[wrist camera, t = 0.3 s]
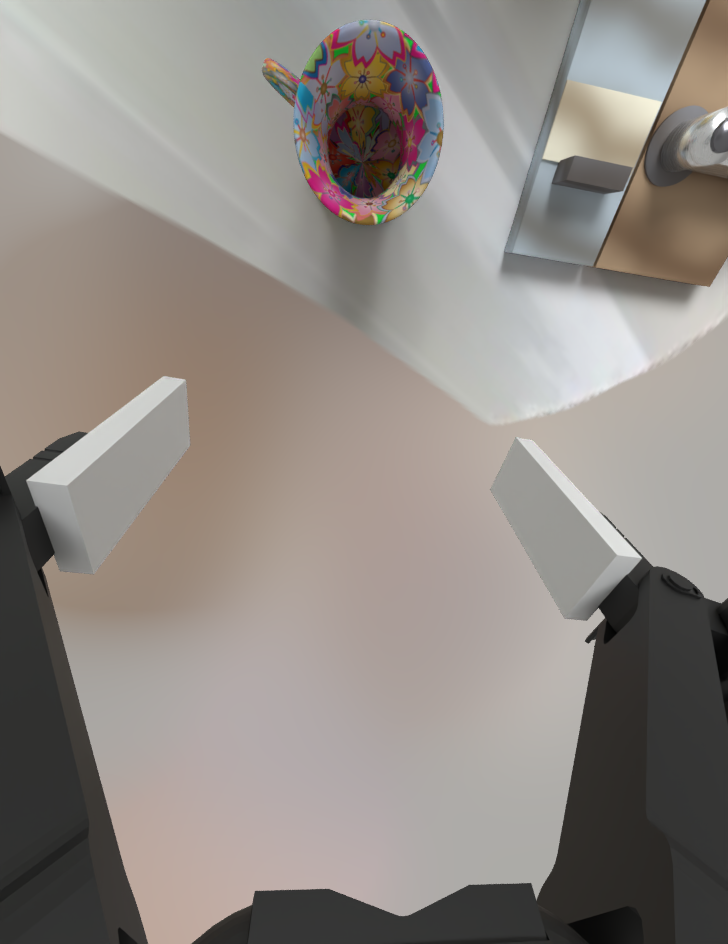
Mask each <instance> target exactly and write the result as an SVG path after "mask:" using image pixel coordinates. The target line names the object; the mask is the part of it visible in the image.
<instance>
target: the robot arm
mask: <svg viewBox="0 0 728 944" xmlns="http://www.w3.org/2000/svg"><path fill="white" fill-rule="evenodd" d="M189 446H190V432H189V417H188V402H187V387H186V380H184V379H178V378H171V377H167V376H163V377H162V378H160V379H159V380H158V381H157V382H155V383H154V384H152V385H151V386H150V387H149V388H147V389H146V390H145V391H143V392H142V393H141V394H139V395H138V396H137V397H135V398H134V399H133V400H131V401H130V402H129V403H128V404H126V405H125V406H124V407H122V408H121V409H120V410H118V411H117V412H116V413H114V414H113V415H112V416H110V417H109V418H108V419H106V420H105V421H104V422H103V423H101V424H100V425H99V426H97V427H96V428H95V429H93V430H92V431H91V432H89V433H84V432H77V433H74V434H71V435H68V436H66V437H63V438H60V439H58V440H57V441H55V442H54V443H52V444H51V445H49V446H48V447H46V448H45V451H41V452H39V453H38V454H37V455H35V456H34V457H33V459H29V460H28V461H26V462H25V463H24V464H23V465H21V466H19V467H18V468H16V469H15V470H14V471H12V472H11V473H9V474H8V475H7V476H4V474H3V472H2V469H1V467H0V944H148V942H147V939H146V935H145V931H144V928H143V924H142V921H141V917H140V914H139V911H138V907H137V904H136V901H135V898H134V896H133V893H132V890H131V887H130V884H129V882H128V879H127V876H126V873H125V870H124V866H123V862H122V859H121V855H120V851H119V848H118V844H117V840H116V836H115V833H114V829H113V825H112V822H111V818H110V814H109V810H108V807H107V803H106V799H105V796H104V792H103V788H102V784H101V781H100V777H99V773H98V770H97V766H96V762H95V759H94V755H93V751H92V747H91V744H90V740H89V736H88V732H87V729H86V725H85V721H84V718H83V714H82V711H81V707H80V703H79V699H78V696H77V692H76V688H75V684H74V681H73V677H72V673H71V670H70V666H69V662H68V658H67V655H66V651H65V647H64V644H63V640H62V636H61V632H60V629H59V625H58V621H57V618H56V614H55V610H54V606H53V603H52V599H51V596H50V592H49V588H48V584H47V580H46V577H45V574H44V572H43V569H42V567H43V566H44V564H45V563H46V562H47V561H48V560H49V559H50V558H51V557H52V556H53V555H54V556H55V559H56V562H57V565H58V567H59V570H60V571H64V572H74V573H84V574H94V573H95V572H96V571H97V569H98V568H99V567H100V565H101V564H102V563H103V561H104V560H105V558H106V557H107V556H108V555H109V553H110V552H111V551H112V549H113V548H114V547H115V545H116V544H117V543H118V541H119V540H120V539H121V537H122V536H123V535H124V533H125V532H126V531H127V529H128V528H129V527H130V525H131V524H132V523H133V521H134V520H135V518H136V517H137V516H138V515H139V513H140V512H141V511H142V509H143V508H144V507H145V505H146V504H147V503H148V501H149V500H150V499H151V497H152V496H153V495H154V493H155V492H156V490H157V489H158V488H159V486H160V485H161V484H162V482H163V481H164V480H165V478H166V477H167V475H168V474H169V473H170V472H171V470H172V469H173V468H174V466H175V465H176V464H177V462H178V461H179V460H180V458H181V457H182V456H183V454H184V453H185V452H186V450H187V449H188V448H189ZM490 490H491V492H492V494H493V495H494V497H495V499H496V501H497V502H498V504H499V506H500V508H501V509H502V511H503V513H504V515H505V516H506V518H507V520H508V521H509V523H510V525H511V527H512V528H513V530H514V531H515V534H516V535H517V537H518V539H519V540H520V542H521V544H522V546H523V547H524V549H525V551H526V553H527V554H528V556H529V558H530V559H531V561H532V563H533V565H534V566H535V568H536V570H537V571H538V573H539V575H540V577H541V579H542V580H543V582H544V584H545V585H546V587H547V589H548V590H549V592H550V594H551V596H552V598H553V599H554V601H555V603H556V604H557V606H558V608H559V610H560V611H561V613H562V615H563V617H564V618H565V619H575V620H588V619H589V618H590V617H591V615H592V614H593V613H594V612H595V611H596V610H597V609H598V608H599V609H600V610H601V612H602V613H603V614H604V616H605V619H604V620H603V621H602V622H601V623H600V624H599V625H598V626H597V627H596V628H595V629H594V630H593V632H592V633H591V634H590V635H589V636H588V637H587V638H586V640H585V642H587V643H590V641H591V640H595V639H596V642H595V646H594V647H595V648H594V653H593V660H592V665H591V670H590V676H589V681H588V687H587V693H586V698H585V704H584V709H583V715H582V720H581V726H580V731H579V737H578V743H577V748H576V754H575V759H574V765H573V771H572V776H571V782H570V787H569V793H568V798H567V804H566V809H565V815H564V821H563V826H562V832H561V837H560V843H559V849H558V854H557V858H556V862H555V865H554V867H553V869H552V872H551V873H550V875H549V876H548V878H547V880H546V881H545V883H544V884H543V886H542V888H541V891H540V893H539V895H538V898H537V901H536V898H535V895H534V891H533V888H532V885H531V883H524V884H523V883H522V884H487V885H468V886H466V887H464V888H463V889H460V890H459V891H457V892H455V893H453V894H451V895H449V896H447V897H445V898H443V899H441V900H439V901H437V902H435V903H433V904H431V905H429V906H427V907H425V908H423V909H421V910H419V911H417V912H415V913H413V914H411V915H409V916H398V915H394V914H392V913H389V912H387V911H384V910H382V909H379V908H377V907H374V906H371V905H369V904H366V903H364V902H361V901H358V900H356V899H353V898H351V897H348V896H346V895H343V894H340V893H338V892H335V891H333V890H330V889H312V890H275V891H255V894H254V898H253V903H252V905H251V906H249V907H246V908H244V909H242V910H240V911H237V912H235V913H233V914H231V915H230V916H228V917H226V918H225V919H224V920H222V921H220V922H219V923H217V924H215V925H214V926H212V927H211V928H210V929H209V930H208V931H206V932H205V933H204V934H203V935H202V936H201V937H199V938H198V939H197V940H195V941H194V942H193V943H192V944H728V598H727V599H726V600H725V601H724V602H723V603H722V604H721V603H718V602H715V601H712V600H709V599H706V598H704V596H703V594H702V593H701V592H700V590H699V589H698V588H697V587H696V586H695V585H694V584H692V583H691V582H690V581H689V580H687V579H686V578H685V577H683V576H681V575H680V574H677V573H676V572H674V571H671V570H669V569H667V568H663V567H653V566H652V565H651V564H650V563H649V562H648V561H647V560H646V559H645V558H644V557H643V555H642V554H641V553H640V552H639V551H638V550H637V549H636V548H635V547H634V546H633V545H632V544H631V543H630V542H629V540H628V539H627V538H624V535H623V534H622V533H621V532H620V531H619V530H618V529H616V527H615V526H614V524H612V522H611V521H610V520H609V519H608V518H607V517H606V516H605V515H603V514H602V513H601V512H599V511H598V510H597V509H596V508H595V507H594V506H593V505H592V504H591V503H590V501H589V500H587V498H586V497H585V496H584V495H583V494H582V493H581V492H580V491H579V490H578V489H577V488H576V486H575V485H574V484H573V483H572V482H571V481H570V480H569V479H568V478H567V477H566V476H565V475H564V474H563V473H562V471H561V470H560V469H559V468H558V467H557V466H556V465H555V464H554V463H553V462H552V461H551V460H550V458H549V457H548V456H547V455H546V454H545V453H544V452H543V451H542V450H541V449H540V448H539V447H538V446H537V444H536V443H535V442H534V441H533V440H529V439H523V438H517V437H516V438H515V440H514V442H513V444H512V446H511V448H510V450H509V452H508V454H507V456H506V459H505V460H504V463H503V464H502V467H501V469H500V471H499V473H498V475H497V477H496V479H495V481H494V483H493V485H492V487H491V489H490Z"/></svg>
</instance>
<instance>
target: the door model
mask: <svg viewBox="0 0 728 944" xmlns="http://www.w3.org/2000/svg"><path fill="white" fill-rule="evenodd" d="M726 107H728V0H581V1H580V4H579V7H578V11H577V14H576V17H575V21H574V24H573V27H572V30H571V34H570V37H569V40H568V44H567V47H566V50H565V54H564V57H563V60H562V63H561V67H560V70H559V73H558V77H557V80H556V83H555V87H554V90H553V93H552V97H551V100H550V103H549V106H548V110H547V113H546V116H545V120H544V123H543V126H542V130H541V133H540V136H539V139H538V143H537V146H536V149H535V153H534V156H533V159H532V163H531V166H530V169H529V172H528V176H527V179H526V182H525V186H524V189H523V192H522V196H521V199H520V202H519V205H518V209H517V212H516V215H515V219H514V222H513V225H512V229H511V232H510V235H509V239H508V242H507V245H506V248H505V252H508V253H513V254H519V255H525V256H531V257H537V258H542V259H548V260H554V261H560V262H566V263H571V264H577V265H584V266H589V267H595V268H601V269H606V270H612V271H618V272H624V273H630V274H635V275H641V276H647V277H653V278H659V279H664V280H670V281H676V282H682V283H688V284H693V285H701V286H708V287H710V285H711V284H712V282H713V280H714V279H715V277H716V275H717V274H718V272H719V270H720V269H721V267H722V265H723V264H724V262H725V260H726V259H727V257H728V178H723V177H718V176H714V175H709V174H704V173H700V172H695V171H690V170H683V171H678V172H668V171H666V170H665V169H664V168H663V166H662V163H661V152H662V148H663V145H664V143H665V141H666V139H667V137H668V136H669V134H670V133H671V132H672V131H673V130H674V129H675V128H676V127H677V126H678V125H679V124H681V123H683V122H685V121H688V120H691V119H693V118H696V117H699V116H702V115H705V114H708V113H711V112H714V111H717V110H720V109H723V108H726Z"/></svg>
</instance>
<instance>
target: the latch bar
mask: <svg viewBox="0 0 728 944" xmlns="http://www.w3.org/2000/svg"><path fill="white" fill-rule="evenodd" d="M661 163H662V166H663V168H664V169H665V170H666V171H668V172H678V171H683V170H690V171H695V172H700V173H704V174H709V175H714V176H718V177H723V178H728V107H726V108H723V109H720V110H717V111H714V112H711V113H708V114H705V115H702V116H699V117H696V118H693V119H691V120H688V121H685V122H683V123H681V124H679V125H678V126H677V127H676V128H675V129H674V130H673V131H672V132H671V133H670V134H669V136H668V137H667V139H666V141H665V143H664V145H663V148H662V152H661Z"/></svg>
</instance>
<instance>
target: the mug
mask: <svg viewBox="0 0 728 944" xmlns="http://www.w3.org/2000/svg"><path fill="white" fill-rule="evenodd" d="M262 72H263V75H264V77H265V78H266V80H267V81H268V82H269V83H270V84H271V85H272V86H273V87H274V89H275V90H276V91H277V92H278V93H279V94H280V95H281V96H282V97H283V98H284V99H285V100H287V101H288V102H289V103H290V104H291V105H292V106H293V107H294V122H293V123H294V138H295V145H296V151H297V155H298V159H299V162H300V165H301V168H302V171H303V173H304V176H305V178H306V180H307V182H308V184H309V186H310V187H311V189H312V190H313V192H314V194H315V195H316V196H317V197H318V199H319V200H320V201H321V202H322V203H323V204H324V205H325V206H326V207H327V208H328V209H329V210H330V211H331V212H333V213H334V214H335V215H337V216H339V217H340V218H342V219H344V220H347V221H349V222H352V223H355V224H361V225H376V224H382V223H385V222H388V221H390V220H393V219H395V218H397V217H398V216H400V215H402V214H403V213H404V212H406V211H407V210H408V209H409V208H410V207H412V206H413V205H414V203H415V202H416V201H417V200H418V199H419V198H420V196H421V195H422V194H423V192H424V191H425V189H426V188H427V186H428V184H429V182H430V180H431V178H432V176H433V174H434V171H435V169H436V166H437V163H438V159H439V156H440V151H441V146H442V139H443V127H444V122H443V105H442V99H441V94H440V89H439V85H438V82H437V79H436V76H435V74H434V71H433V69H432V67H431V65H430V63H429V61H428V59H427V57H426V56H425V54H424V53H423V51H422V50H421V48H420V47H419V46H418V45H417V43H416V42H415V41H414V40H413V39H412V38H411V37H410V36H409V35H407V34H406V33H405V32H403V31H402V30H400V29H399V28H397V27H395V26H393V25H391V24H389V23H386V22H382V21H378V20H359V21H354V22H351V23H348V24H346V25H344V26H342V27H340V28H338V29H337V30H335V31H334V32H332V33H331V34H330V35H329V36H327V37H326V38H325V39H324V40H323V41H322V42H321V44H320V45H319V46H318V47H317V48H316V50H315V51H314V53H313V54H312V56H311V57H310V59H309V61H308V63H307V65H306V67H305V69H304V71H303V74H302V76H301V79H299V78H297V77H296V76H295V75H294V74H293V73H291V72H290V71H289V70H288V69H286V68H285V67H283V66H282V65H281V64H279V63H277V62H276V61H274V60H272V59H269V58H267V59H265V61H264V64H263V68H262Z"/></svg>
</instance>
